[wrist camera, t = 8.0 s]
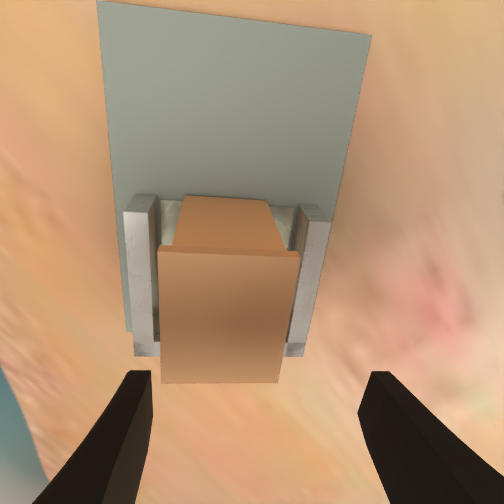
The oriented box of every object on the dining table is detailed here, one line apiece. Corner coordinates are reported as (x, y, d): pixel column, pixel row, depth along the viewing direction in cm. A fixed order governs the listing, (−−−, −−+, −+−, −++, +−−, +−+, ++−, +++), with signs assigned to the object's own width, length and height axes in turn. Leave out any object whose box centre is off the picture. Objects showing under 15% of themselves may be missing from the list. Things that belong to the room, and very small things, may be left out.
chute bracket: (135, 193, 16) (123, 211, 14) (316, 204, 18) (331, 222, 15) (143, 325, 20) (134, 356, 18) (293, 327, 21) (302, 356, 19)
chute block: (176, 194, 16) (157, 251, 11) (274, 201, 17) (300, 258, 12) (176, 298, 19) (161, 383, 14) (261, 300, 20) (277, 383, 14)
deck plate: (105, 5, 14) (96, 0, 13) (361, 37, 15) (371, 35, 14) (130, 318, 21) (126, 331, 20) (303, 321, 23) (308, 333, 22)
